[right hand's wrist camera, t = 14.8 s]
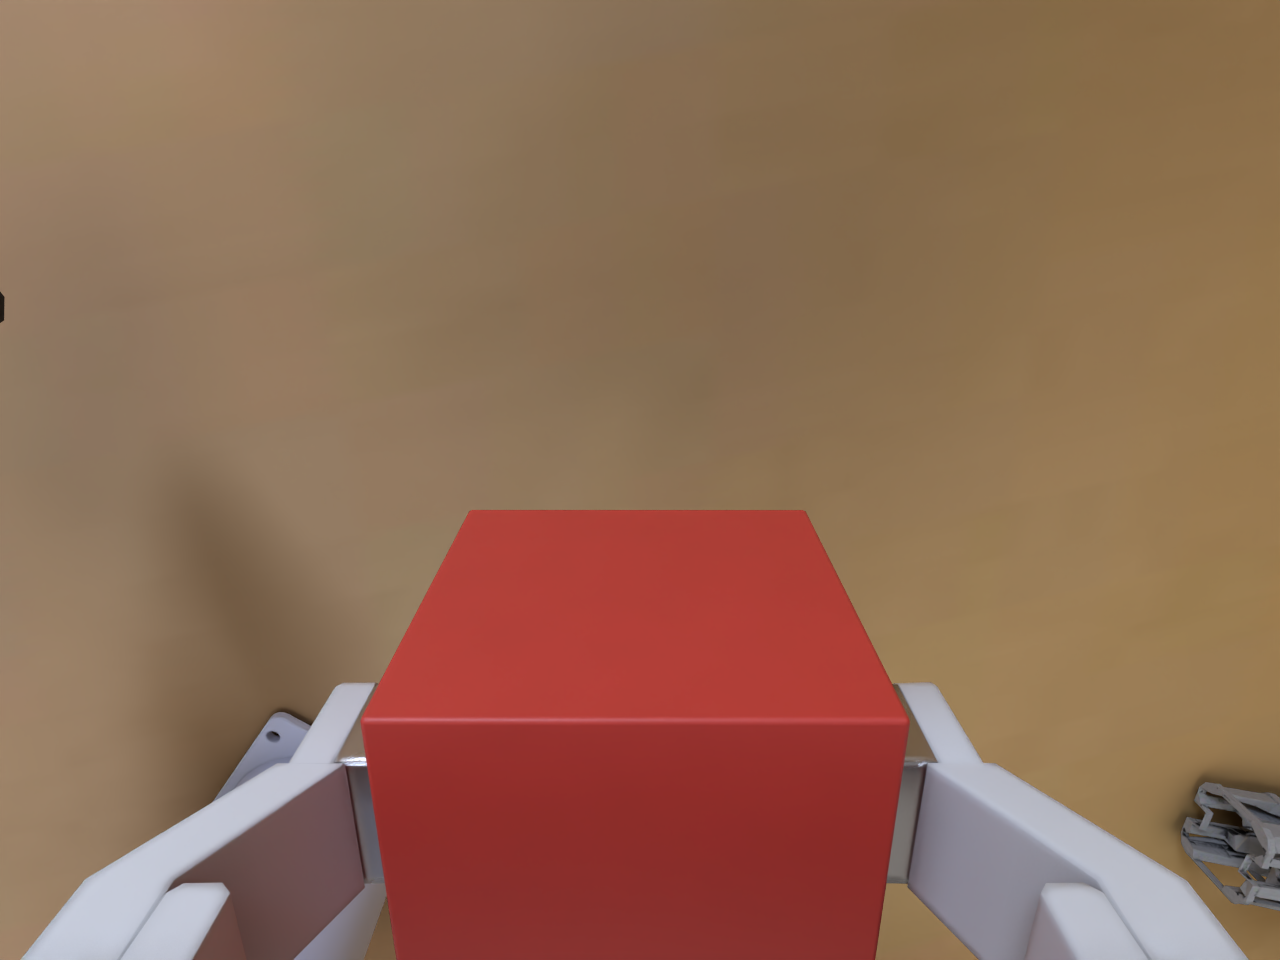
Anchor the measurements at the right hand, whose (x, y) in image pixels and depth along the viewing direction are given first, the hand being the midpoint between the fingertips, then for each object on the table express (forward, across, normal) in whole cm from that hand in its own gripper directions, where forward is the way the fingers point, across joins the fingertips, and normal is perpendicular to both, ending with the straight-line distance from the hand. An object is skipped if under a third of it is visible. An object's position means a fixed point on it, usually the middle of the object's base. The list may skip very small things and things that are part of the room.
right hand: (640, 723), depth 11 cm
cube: (+2, 0, 0) cm, 2 cm away
